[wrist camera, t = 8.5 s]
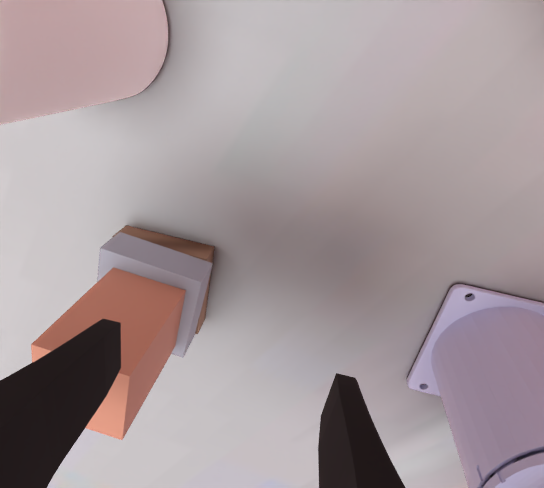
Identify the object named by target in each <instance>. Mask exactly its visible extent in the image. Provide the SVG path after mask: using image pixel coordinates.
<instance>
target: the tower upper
mask: <svg viewBox="0 0 544 488" xmlns="http://www.w3.org/2000/svg"><path fill="white" fill-rule="evenodd" d="M212 265H213V263H211V262H208V261H205V260H202V259H199V258H196V257H193V256H190V255H187V254H184V253H181V252H178V251H175V250H172V249H169V248H166V247H163V246H160V245H157V244H154V243H151V242H148V241H145V240H142V239H140V238H137V237H134V236H131V235H128V234H125V233H122V232H119V233H118V234H116V235H115V236H114V237H113V238H112V239H110V240H109V241H108V242H107V243H105V244H104V245H103V246H102V247H101V248H100V254H99V266H98V277H97V282H98V281H99V280H100V279H101V278H103V277H104V276H105V275H106V274H107V273H108V272H109V271H110V270H111V269H112V268H113V267H114V268H117V269H120V270H123V271H126V272H130V273H133V274H136V275H139V276H142V277H145V278H148V279H152V280H155V281H158V282H161V283H164V284H167V285H170V286H173V287H177V288H180V289H183V290H186V293H185V298H184V303H183V309H182V314H181V319H180V324H179V330H178V335H177V340H176V346H175V348H174V349H173V351H172V353H171V354H174V355H177V356H180V357H184V355H185V353H186V351H187V349H188V347H189V345H190V343H191V341H192V339H193V337H194V335H195V332H196V328H197V324H198V320H199V316H200V312H201V308H202V304H203V300H204V297H205V293H206V289H207V285H208V281H209V277H210V273H211V269H212Z"/></svg>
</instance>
